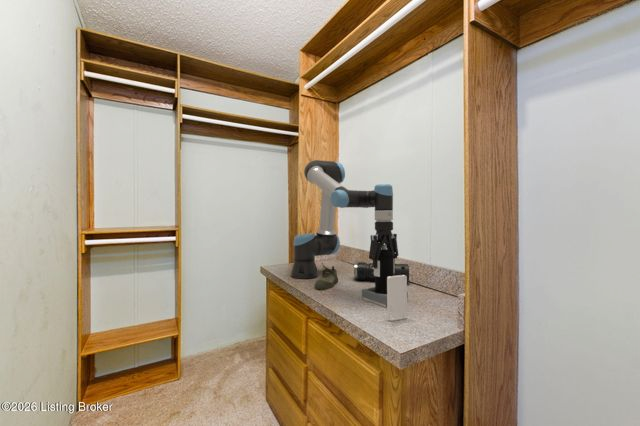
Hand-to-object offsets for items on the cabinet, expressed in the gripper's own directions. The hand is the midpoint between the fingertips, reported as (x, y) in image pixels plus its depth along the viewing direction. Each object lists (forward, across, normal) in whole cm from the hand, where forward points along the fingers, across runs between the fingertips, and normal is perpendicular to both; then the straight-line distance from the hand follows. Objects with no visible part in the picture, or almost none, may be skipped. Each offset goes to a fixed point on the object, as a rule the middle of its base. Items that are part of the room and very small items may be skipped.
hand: (384, 274), depth 119 cm
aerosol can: (+7, 0, 0) cm, 7 cm away
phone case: (+11, -12, -17) cm, 24 cm away
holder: (+11, 0, 0) cm, 11 cm away
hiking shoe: (+11, -6, +31) cm, 34 cm away
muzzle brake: (+11, +22, +22) cm, 33 cm away
